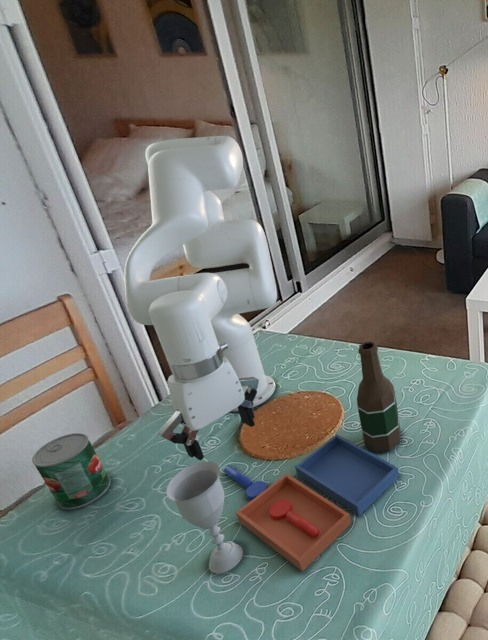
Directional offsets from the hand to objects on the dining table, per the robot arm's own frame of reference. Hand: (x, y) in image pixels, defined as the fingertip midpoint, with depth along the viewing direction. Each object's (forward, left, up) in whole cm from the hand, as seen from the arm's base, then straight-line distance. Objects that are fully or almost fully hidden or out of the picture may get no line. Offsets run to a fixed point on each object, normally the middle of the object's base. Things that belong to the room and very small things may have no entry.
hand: (224, 439), depth 91 cm
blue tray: (+17, +12, -11) cm, 23 cm away
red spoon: (+17, 0, -10) cm, 20 cm away
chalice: (+13, -10, -11) cm, 20 cm away
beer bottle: (+16, +22, -11) cm, 30 cm away
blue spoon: (+2, 0, -11) cm, 11 cm away
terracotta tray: (+17, 0, -11) cm, 20 cm away
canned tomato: (-23, -17, -11) cm, 30 cm away
